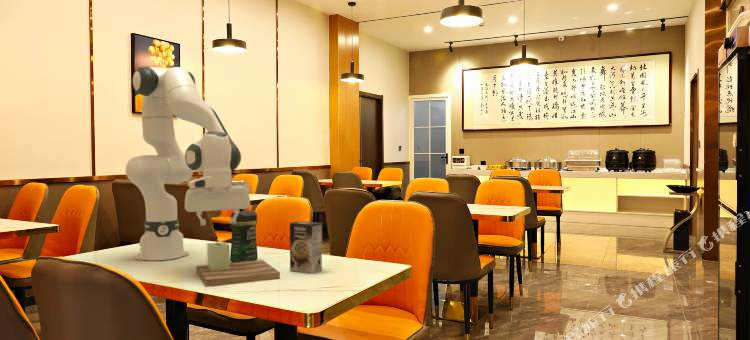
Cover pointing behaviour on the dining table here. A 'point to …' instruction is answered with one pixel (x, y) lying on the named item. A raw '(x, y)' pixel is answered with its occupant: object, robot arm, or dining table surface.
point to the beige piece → (218, 256)
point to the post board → (238, 273)
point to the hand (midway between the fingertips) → (218, 224)
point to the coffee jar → (244, 237)
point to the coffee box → (305, 247)
